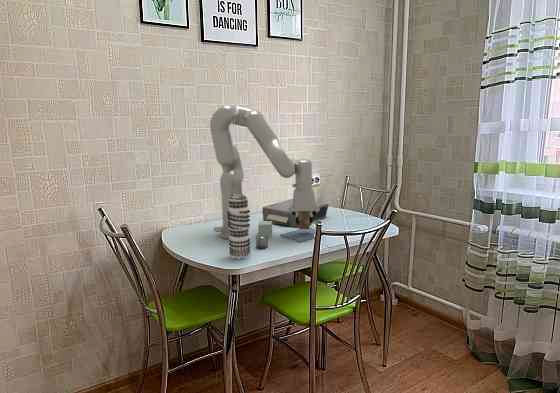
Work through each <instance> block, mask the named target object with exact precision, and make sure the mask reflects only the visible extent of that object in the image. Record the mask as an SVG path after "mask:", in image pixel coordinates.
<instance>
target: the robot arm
mask: <svg viewBox="0 0 560 393" xmlns="http://www.w3.org/2000/svg"><path fill="white" fill-rule="evenodd" d="M209 124H210V125H209V129H210V135H211V140H212V143H213V148H214V153H215V157H216V161H217V163H218V164H219V165H220V167H221V169H222V173H221V176H220V178H219V185H220V186H219V187H220V192H221V194H220V195H221V196H220V197H221V210H222V211H221V212H222V214H221V215H222V225H221V226H213V231H214V232H215V233H219V237H220V238H222V239H225V240H226V239H227V240H229V239H230V229H229V226H228V224H229V223H228V220H229V219H228V217H227V216H228V214H227V211H229V208H228V207H229V200H228V199H229V198H230V196H231V195H234V194H243V188H242V182H243V180H244V176H245V175H244V169H243V166H242V161H241V156H240V153H239V150H238V148H237V147H236V146H235V145H234V144H233V139H232V134H231V130H230V127H231V125H235V126H239V127H240V126H241V127H245V128H247V129H248V131H249V132H250V133H251V135H252V137H253V138H254V139H255V140H256V142H257V144H258V145H259V147H260V148H261V150H262V151H263V153H264V154H265V155H266V157H267V158H268V160H269V162H270V163H271V164H272V166H273V167H274V169H275V170H276V172H277V173H278V174H279V176H280V177H282V178H284V179H289V178H291V177H293V176H295V181H294V182H295V183H292V184H291V185H292V188H294V189H293V194H292V195H293V196H292V199H293V204H292V205H291V206H290V208H289V209H288V211H289V212H291V213H292V214H293V215H294V216H295V217H296V224H297V226H299V216H298V214H299V212H310V226H312V224H313V223H312V217H313V216H314V215H315V214H316V213H317V212H318V211H320V208H319V207H318V206H317V205H316V204H315V201H316V195H315V189H314V188H313V170H312V169H313V162H312V160H310V159H305V158H304V159H303V158H302V159H291V158H289V156H288V155H287V154H286V152H285V150H284V148H283V146H282V145H281V143H280V140H279V138H278V137H277V135H276V133H275V132H274V130H272V128H271V126H270V125H269V124H268V122H267V121H266V119H265V117H264V115H263V114H262V112H261V111H259V110H256V109H250V108H246V107H241V106H237V105H233V104H224V105H221V106H220V107H218V109H216V110H215V111H214V113H212V115H211V118H210V122H209ZM292 208H293V210H294V211H293V210H292ZM315 208H316V210H315ZM314 210H315V211H314ZM295 211H296V212H295ZM312 211H313V212H312ZM229 217H230V216H229Z"/></svg>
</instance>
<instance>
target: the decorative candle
mask: <svg viewBox="0 0 560 393" xmlns="http://www.w3.org/2000/svg"><path fill="white" fill-rule="evenodd" d="M228 200H229V207H228V208H229V211H227V214H228V216H227V217H228V219H229V220H228V223H229V224H228V226H229V229H230V239H228V242H229V244H228V245H229V247H228V249H229V251H228V253H229V257H230V258H231V257H233V258H232V259H234V258H238V259H237V260H241V259H240V258H244V259H247V257H248V258H250V257H251V242H250V241H251V238H250V234H249V229H250V228H251V224H250V223H249V222H250V221H251V219H250V218H251V215H250V214H249V213H251V210H249V209H250V208H249V202H248V201H249V198H248V197H247V196H246V195H245V194H243V193H242V194H234V195H231V196H230V198H229V199H228ZM229 216H230V217H229ZM249 256H250V257H249Z"/></svg>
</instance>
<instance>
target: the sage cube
mask: <svg viewBox="0 0 560 393" xmlns="http://www.w3.org/2000/svg"><path fill="white" fill-rule="evenodd" d="M257 226H258V228H257V229H258V234H257V235H267V236H268V238H272V236H273V222H272V221H264V220H260V221H259V222H258V224H257Z"/></svg>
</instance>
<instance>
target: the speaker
mask: <svg viewBox="0 0 560 393" xmlns="http://www.w3.org/2000/svg"><path fill="white" fill-rule="evenodd" d="M292 204H293V198H290V199H287V200H282V201H281V202H280V201H279V202H276V203H272V204H268V205H265V206H262V209H261V210H262V221H272V224H273V223H274V224H278V225H283V226H288V227H293V228H296V229H297V228H298V229H299V226H297V224H296V217H295V216H294V215H293V214H292V213H291V212H289V211H288V209H289V208H290V206H291V205H292ZM315 204H316V205H317V206H318V207H319V208H320V211H318V212H317V213H316V214H315V215H314V216H313V217H312V222H313V223H316V222H318V221H321V220H324V219H326V218H327V212H328V209H329V203H327V202H321V201H316V200H315ZM292 210H293V208H292ZM315 210H316V208H315ZM315 210H314V211H315ZM293 211H294V210H293ZM295 212H296V211H295ZM312 212H313V211H312ZM298 216H299V214H298Z"/></svg>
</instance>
